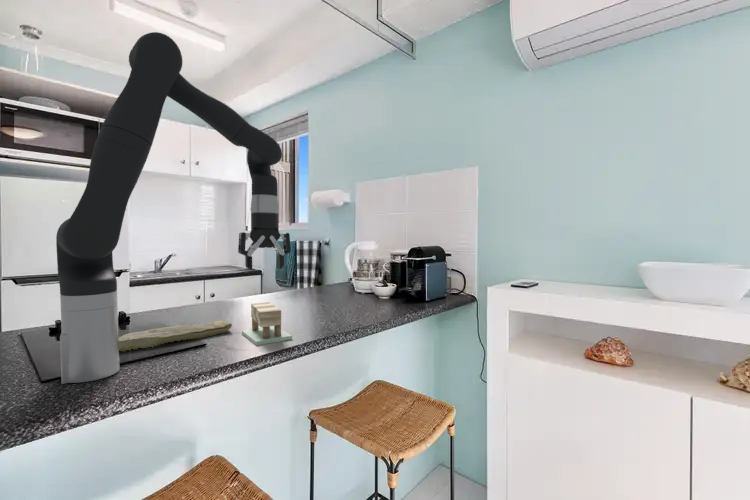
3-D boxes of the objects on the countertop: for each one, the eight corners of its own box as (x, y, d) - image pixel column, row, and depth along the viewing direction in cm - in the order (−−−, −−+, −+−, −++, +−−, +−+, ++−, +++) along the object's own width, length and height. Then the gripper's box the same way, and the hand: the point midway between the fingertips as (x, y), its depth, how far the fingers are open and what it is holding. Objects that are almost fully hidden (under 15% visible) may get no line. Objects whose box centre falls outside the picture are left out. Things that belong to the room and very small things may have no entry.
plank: (281, 324, 99) (281, 310, 99) (260, 327, 96) (260, 312, 96) (270, 315, 111) (269, 302, 111) (251, 317, 108) (251, 303, 108)
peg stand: (292, 339, 101) (292, 323, 101) (256, 345, 95) (255, 328, 95) (274, 328, 112) (274, 314, 112) (241, 333, 107) (241, 318, 106)
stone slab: (105, 334, 97) (220, 313, 117) (106, 349, 97) (221, 326, 117) (111, 343, 88) (235, 319, 108) (113, 360, 88) (236, 333, 108)
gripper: (242, 210, 95) (243, 271, 96) (293, 212, 103) (294, 269, 104) (235, 211, 101) (235, 269, 102) (284, 213, 110) (284, 267, 110)
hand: (265, 269), depth 103 cm, fingers open, 8 cm apart
